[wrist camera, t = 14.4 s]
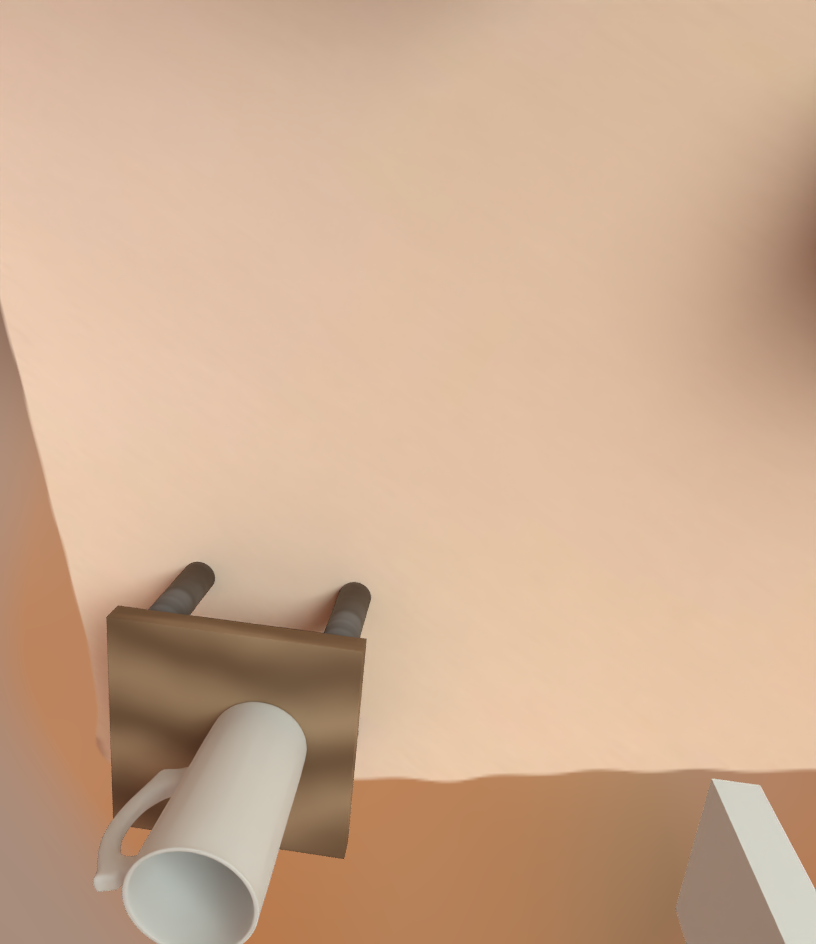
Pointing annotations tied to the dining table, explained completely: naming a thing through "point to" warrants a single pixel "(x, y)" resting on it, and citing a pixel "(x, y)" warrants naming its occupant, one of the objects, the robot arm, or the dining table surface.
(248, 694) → the small wooden stand
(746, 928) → the robot arm
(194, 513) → the dining table surface
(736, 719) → the dining table surface
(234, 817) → the mug
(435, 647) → the dining table surface
